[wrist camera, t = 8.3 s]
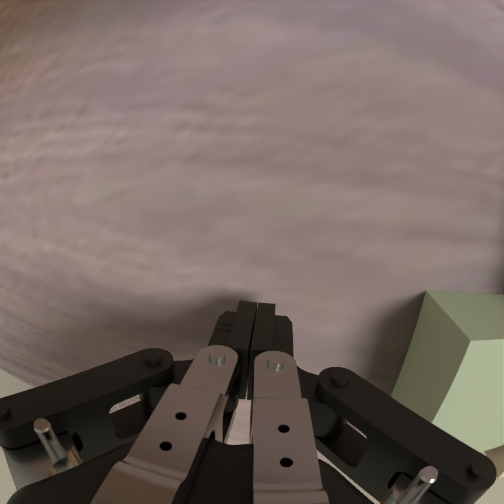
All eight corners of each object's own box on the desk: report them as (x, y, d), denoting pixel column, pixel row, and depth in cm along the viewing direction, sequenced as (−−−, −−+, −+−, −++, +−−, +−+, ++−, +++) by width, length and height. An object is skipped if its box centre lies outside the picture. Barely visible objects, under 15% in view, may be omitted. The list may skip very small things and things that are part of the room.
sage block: (424, 288, 14) (470, 340, 9) (524, 293, 13) (572, 331, 9) (384, 406, 16) (403, 467, 12) (480, 396, 16) (509, 443, 11)
